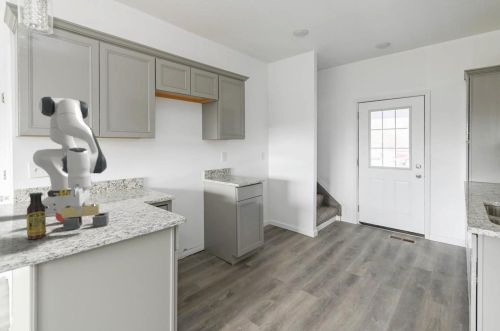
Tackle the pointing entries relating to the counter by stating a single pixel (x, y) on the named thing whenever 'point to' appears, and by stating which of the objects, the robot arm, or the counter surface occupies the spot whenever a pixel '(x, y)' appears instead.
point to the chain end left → (72, 223)
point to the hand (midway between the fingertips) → (81, 212)
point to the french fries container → (61, 203)
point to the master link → (87, 211)
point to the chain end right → (100, 219)
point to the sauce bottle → (36, 217)
